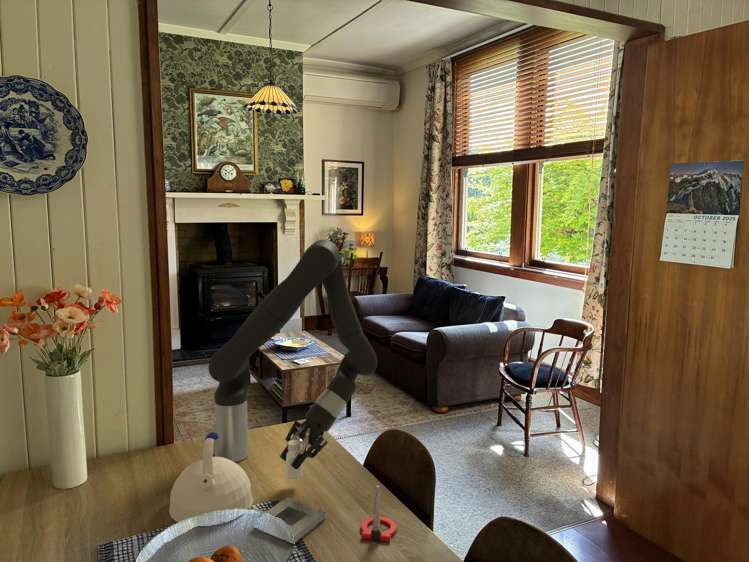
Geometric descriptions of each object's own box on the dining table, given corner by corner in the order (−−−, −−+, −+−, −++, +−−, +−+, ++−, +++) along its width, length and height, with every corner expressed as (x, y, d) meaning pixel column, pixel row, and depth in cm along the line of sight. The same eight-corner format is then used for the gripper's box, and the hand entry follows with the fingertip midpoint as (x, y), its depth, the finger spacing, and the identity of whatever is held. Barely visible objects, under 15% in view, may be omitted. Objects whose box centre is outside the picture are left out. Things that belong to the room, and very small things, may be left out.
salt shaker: (301, 479, 149) (301, 445, 148) (286, 479, 149) (286, 445, 147) (302, 472, 153) (302, 439, 152) (287, 472, 153) (287, 439, 151)
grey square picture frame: (253, 528, 132) (253, 520, 132) (287, 504, 142) (287, 497, 142) (293, 545, 126) (293, 536, 126) (325, 519, 136) (325, 511, 136)
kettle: (160, 532, 130) (157, 458, 128) (177, 487, 151) (174, 422, 148) (250, 525, 134) (248, 453, 131) (255, 481, 154) (253, 418, 151)
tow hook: (364, 519, 137) (357, 540, 128) (365, 468, 136) (358, 485, 127) (398, 522, 136) (393, 544, 127) (400, 471, 135) (395, 489, 126)
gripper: (304, 394, 158) (265, 446, 153) (333, 411, 147) (293, 467, 142) (319, 408, 162) (283, 459, 157) (349, 425, 151) (311, 480, 146)
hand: (288, 463), depth 149 cm, fingers closed on salt shaker, 5 cm apart
